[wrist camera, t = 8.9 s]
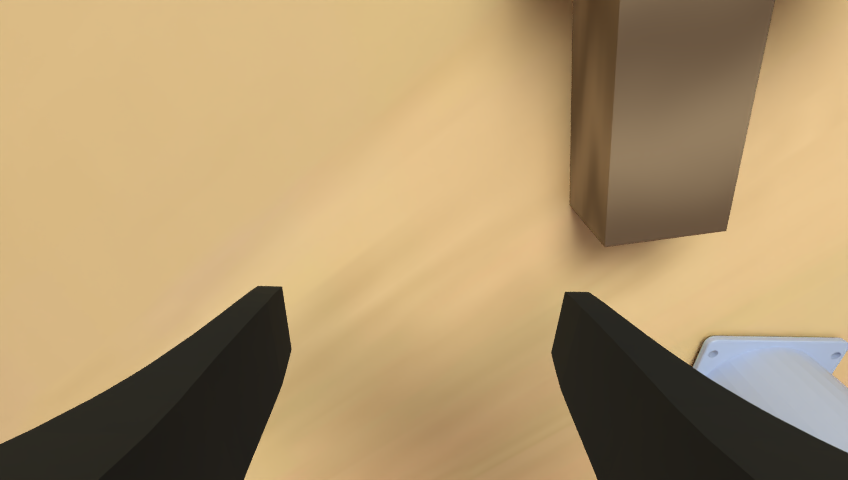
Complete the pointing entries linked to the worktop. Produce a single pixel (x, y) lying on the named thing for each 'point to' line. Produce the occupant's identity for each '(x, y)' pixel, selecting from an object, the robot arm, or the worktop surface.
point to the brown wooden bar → (661, 113)
